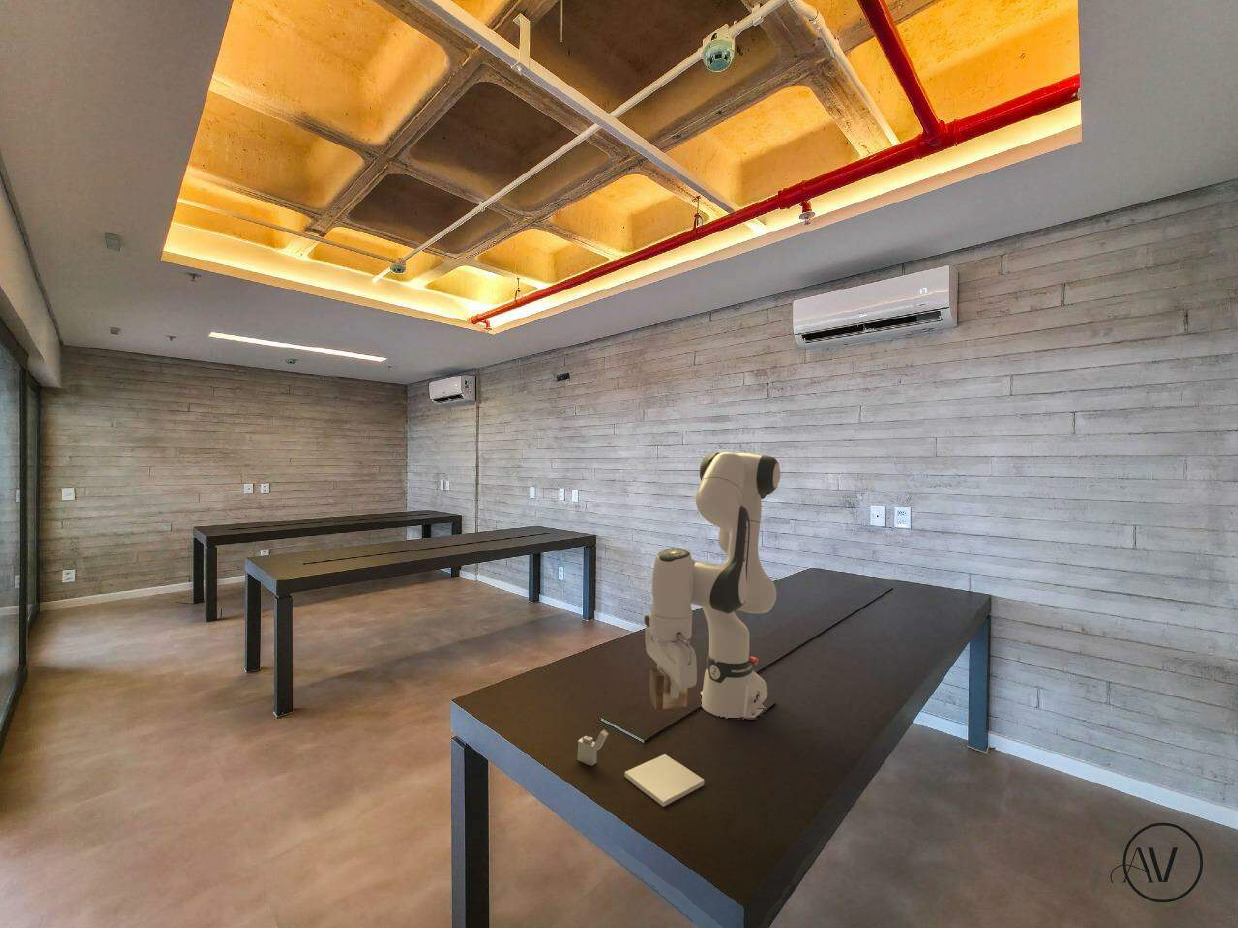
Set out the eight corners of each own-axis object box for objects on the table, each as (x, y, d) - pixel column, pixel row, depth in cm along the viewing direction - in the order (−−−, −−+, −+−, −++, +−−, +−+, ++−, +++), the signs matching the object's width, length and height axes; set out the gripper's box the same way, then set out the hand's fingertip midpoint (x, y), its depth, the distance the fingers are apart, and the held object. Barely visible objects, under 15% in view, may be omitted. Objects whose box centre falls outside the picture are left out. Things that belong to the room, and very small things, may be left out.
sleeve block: (678, 697, 111) (680, 665, 111) (686, 706, 107) (688, 673, 107) (648, 700, 109) (650, 668, 109) (655, 709, 105) (657, 675, 105)
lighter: (577, 759, 115) (578, 724, 115) (581, 756, 116) (582, 721, 116) (603, 770, 111) (604, 733, 111) (607, 766, 113) (609, 730, 113)
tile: (664, 758, 117) (664, 753, 117) (704, 784, 107) (704, 779, 107) (624, 776, 109) (624, 771, 109) (663, 806, 100) (663, 801, 100)
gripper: (706, 641, 99) (703, 712, 99) (667, 612, 119) (664, 671, 119) (676, 643, 98) (673, 716, 97) (641, 613, 117) (639, 673, 117)
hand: (668, 691), depth 108 cm, fingers closed on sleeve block, 4 cm apart
